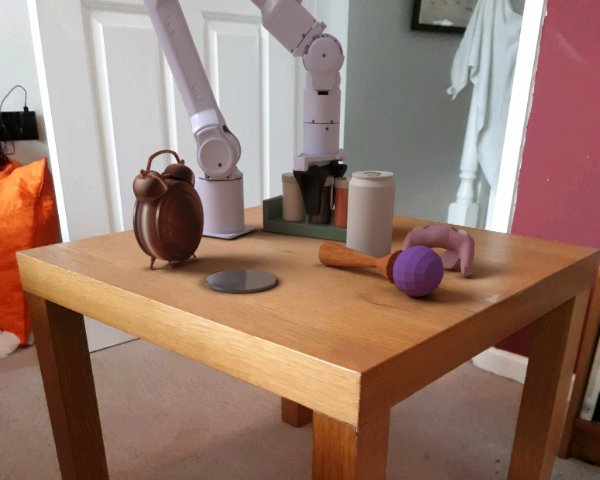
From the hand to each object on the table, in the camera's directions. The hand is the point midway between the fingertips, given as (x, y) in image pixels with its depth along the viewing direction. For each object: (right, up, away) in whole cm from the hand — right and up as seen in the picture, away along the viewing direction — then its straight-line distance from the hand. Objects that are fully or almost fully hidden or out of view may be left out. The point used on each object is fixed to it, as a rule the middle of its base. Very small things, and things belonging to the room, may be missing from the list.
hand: (319, 211), depth 105 cm
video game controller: (+15, -13, -18) cm, 27 cm away
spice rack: (+1, -3, +2) cm, 4 cm away
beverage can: (+7, -11, -14) cm, 19 cm away
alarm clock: (-21, -12, -16) cm, 29 cm away
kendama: (+7, -16, -23) cm, 29 cm away
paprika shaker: (+4, -2, -1) cm, 5 cm away
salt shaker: (-4, 0, +3) cm, 5 cm away
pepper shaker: (0, -1, +1) cm, 2 cm away
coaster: (-11, -16, -23) cm, 30 cm away
